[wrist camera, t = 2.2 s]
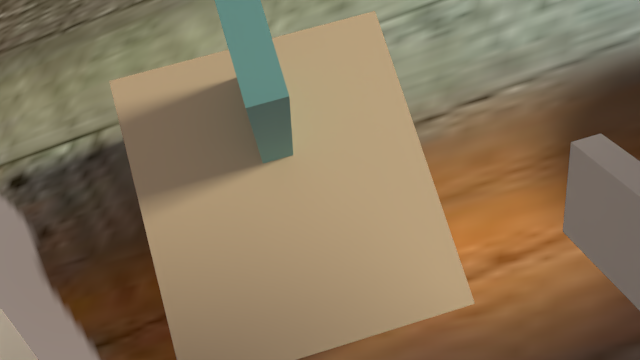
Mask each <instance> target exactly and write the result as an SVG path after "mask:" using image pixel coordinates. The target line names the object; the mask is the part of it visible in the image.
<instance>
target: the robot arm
mask: <svg viewBox="0 0 640 360" xmlns="http://www.w3.org/2000/svg"><path fill="white" fill-rule="evenodd" d="M563 232H564V233H565V234H566V235H567V236H568V237H569V238H570V239H571V240H572V241H573V242H574V243H575V245H576V246H577V247H578V248H579V249H580V250H581V251H582V252H583V253H584V254H585V255H586V256H587V257H588V258H589V259H590V260H591V261H592V262H593V263H594V264H595V265H596V266H597V267H598V268H599V269H600V270H601V271H602V272H603V273H604V274H605V275H606V277H607V278H608V279H609V280H610V281H611V282H612V283H613V284H614V285H615V286H616V287H617V288H618V289H619V290H620V291H621V292H622V293H623V294H624V295H625V296H626V297H627V298H628V299H629V300H630V301H631V302H632V303H633V304H634V305H635V306H636V307H637V309H638V310H639V311H640V161H639V160H637V159H636V158H635V157H633V156H632V155H630V154H629V153H628V152H626V151H625V150H623V149H622V148H621V147H619V146H618V145H616V144H615V143H614V142H612V141H611V140H609V139H608V138H607V137H605V136H604V135H603V134H601V133H600V134H597V135H593V136H590V137H587V138H583V139H580V140H576V141H573V142H571V147H570V158H569V169H568V180H567V191H566V202H565V213H564V224H563ZM0 360H39V359H38V358H37V357H36V355H35V354H34V353H33V352H32V350H31V348H30V347H29V346H28V345H27V343H26V342H25V340H24V339H23V338H22V336H21V335H20V333H19V332H18V331H17V329H16V328H15V327H14V325H13V324H12V323H11V321H10V320H9V318H8V317H7V316H6V314H5V313H4V312H3V310H2V309H0Z"/></svg>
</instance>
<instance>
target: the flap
mask: <svg viewBox="0 0 640 360" xmlns="http://www.w3.org/2000/svg"><path fill="white" fill-rule="evenodd" d="M215 3H216V7H217V10H218V14H219V17H220V21H221V24H222V28H223V31H224V35H225V38H226V42H227V45H228V49H229V50H225V51H222V52H218V53H214V54H210V55H206V56H203V57H199V58H195V59H191V60H187V61H184V62H180V63H176V64H172V65H169V66H165V67H161V68H157V69H153V70H150V71H146V72H142V73H138V74H134V75H131V76H127V77H123V78H119V79H115V80H112V81H110V86H111V90H112V94H113V98H114V102H115V106H116V110H117V115H118V119H119V123H120V127H121V131H122V135H123V139H124V143H125V148H126V152H127V156H128V160H129V164H130V168H131V172H132V177H133V181H134V185H135V189H136V193H137V197H138V201H139V205H140V210H141V214H142V218H143V222H144V226H145V230H146V234H147V239H148V243H149V247H150V251H151V255H152V259H153V263H154V267H155V272H156V276H157V280H158V284H159V288H160V292H161V296H162V301H163V305H164V309H165V313H166V317H167V321H168V325H169V329H170V334H171V338H172V342H173V346H174V350H175V354H176V358H177V360H297V359H300V358H303V357H307V356H310V355H313V354H316V353H319V352H322V351H326V350H329V349H332V348H335V347H338V346H342V345H345V344H348V343H351V342H354V341H357V340H361V339H364V338H367V337H370V336H373V335H377V334H380V333H383V332H386V331H389V330H392V329H396V328H399V327H402V326H405V325H408V324H412V323H415V322H418V321H421V320H424V319H427V318H431V317H434V316H437V315H440V314H443V313H447V312H450V311H453V310H456V309H459V308H463V307H466V306H469V305H472V304H475V303H474V300H473V297H472V294H471V291H470V288H469V285H468V282H467V279H466V276H465V273H464V271H463V268H462V265H461V262H460V259H459V256H458V253H457V250H456V247H455V244H454V241H453V238H452V235H451V232H450V230H449V227H448V224H447V221H446V218H445V215H444V212H443V209H442V206H441V203H440V200H439V197H438V194H437V191H436V188H435V186H434V183H433V180H432V177H431V174H430V171H429V168H428V165H427V162H426V159H425V156H424V153H423V150H422V147H421V145H420V142H419V139H418V136H417V133H416V130H415V127H414V124H413V121H412V118H411V115H410V112H409V109H408V106H407V103H406V101H405V98H404V95H403V92H402V89H401V86H400V83H399V80H398V77H397V74H396V71H395V68H394V65H393V62H392V60H391V57H390V54H389V51H388V48H387V45H386V42H385V39H384V36H383V33H382V30H381V27H380V24H379V21H378V18H377V16H376V13H375V11H373V12H370V13H366V14H362V15H358V16H354V17H351V18H347V19H343V20H339V21H335V22H332V23H328V24H324V25H320V26H316V27H313V28H309V29H305V30H301V31H298V32H294V33H290V34H286V35H282V36H279V37H275V38H272V37H271V34H270V30H269V27H268V24H267V21H266V17H265V14H264V11H263V7H262V4H261V1H260V0H215Z"/></svg>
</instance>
